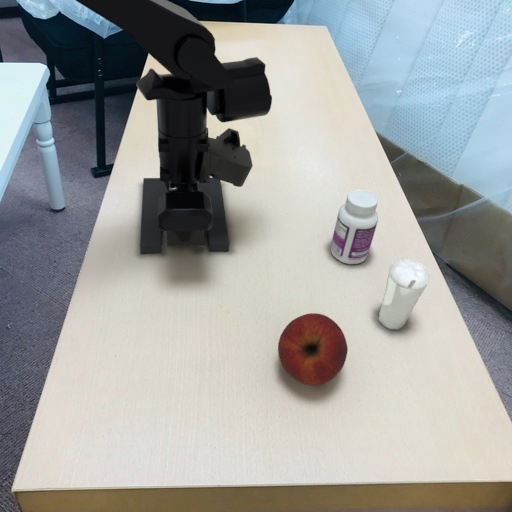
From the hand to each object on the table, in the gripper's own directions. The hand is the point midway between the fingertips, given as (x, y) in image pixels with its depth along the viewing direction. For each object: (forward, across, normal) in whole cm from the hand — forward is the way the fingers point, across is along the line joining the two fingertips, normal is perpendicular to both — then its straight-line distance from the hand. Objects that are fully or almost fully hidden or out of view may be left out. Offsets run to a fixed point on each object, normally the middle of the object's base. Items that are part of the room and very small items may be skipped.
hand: (184, 228), depth 70 cm
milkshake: (+2, -17, -25) cm, 30 cm away
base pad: (+2, +5, 0) cm, 6 cm away
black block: (+1, 0, 0) cm, 1 cm away
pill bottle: (+2, -4, -23) cm, 23 cm away
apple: (+2, -23, -13) cm, 26 cm away
